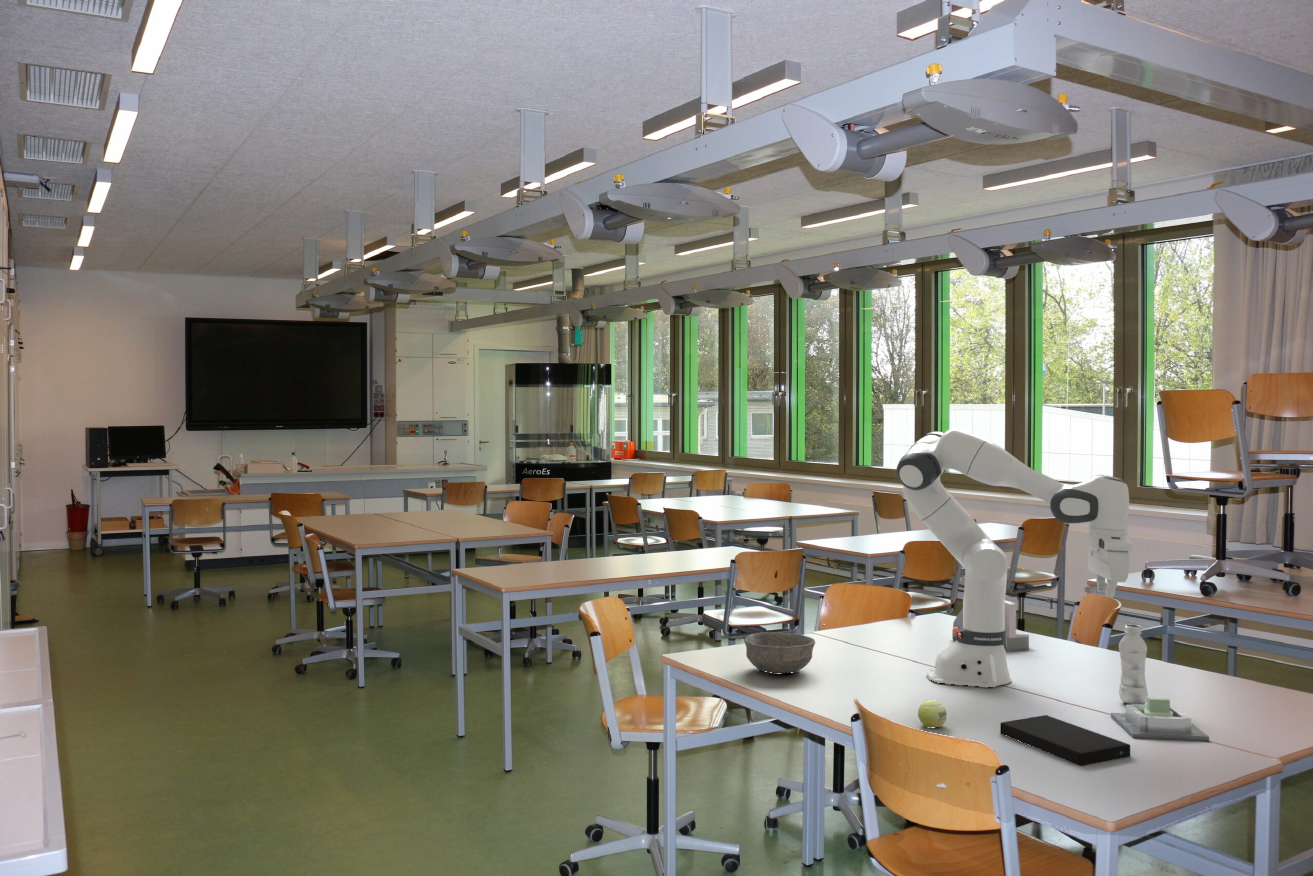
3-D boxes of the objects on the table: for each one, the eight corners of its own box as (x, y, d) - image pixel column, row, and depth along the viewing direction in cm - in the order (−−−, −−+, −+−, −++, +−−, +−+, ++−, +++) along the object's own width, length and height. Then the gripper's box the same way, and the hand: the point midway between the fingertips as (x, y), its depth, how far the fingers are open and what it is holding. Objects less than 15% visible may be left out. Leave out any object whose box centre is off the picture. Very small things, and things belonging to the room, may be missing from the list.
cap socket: (1133, 737, 215) (1132, 720, 215) (1110, 716, 231) (1110, 700, 231) (1209, 741, 213) (1208, 723, 213) (1181, 719, 228) (1181, 703, 228)
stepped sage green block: (1149, 727, 219) (1149, 701, 219) (1140, 719, 225) (1140, 694, 225) (1177, 728, 218) (1177, 702, 218) (1167, 720, 224) (1167, 695, 224)
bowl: (830, 674, 273) (830, 639, 273) (779, 686, 261) (779, 650, 261) (780, 660, 290) (779, 628, 290) (729, 671, 277) (729, 637, 277)
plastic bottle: (1137, 709, 237) (1136, 629, 237) (1113, 702, 243) (1112, 624, 243) (1153, 705, 240) (1153, 627, 240) (1129, 699, 246) (1129, 622, 246)
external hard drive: (1047, 727, 224) (1046, 715, 224) (1130, 758, 203) (1130, 744, 203) (1000, 735, 219) (1000, 722, 219) (1081, 768, 198) (1081, 753, 198)
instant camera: (1034, 651, 300) (1033, 604, 300) (969, 652, 299) (969, 605, 299) (1006, 637, 321) (1006, 593, 321) (946, 638, 320) (946, 594, 320)
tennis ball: (937, 703, 220) (949, 697, 226) (910, 702, 225) (922, 696, 230) (941, 731, 220) (953, 724, 225) (914, 730, 224) (926, 723, 229)
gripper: (1082, 534, 250) (1080, 586, 250) (1107, 544, 229) (1105, 601, 230) (1108, 535, 249) (1105, 588, 249) (1135, 545, 228) (1132, 602, 229)
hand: (1105, 594), depth 239 cm, fingers open, 5 cm apart
